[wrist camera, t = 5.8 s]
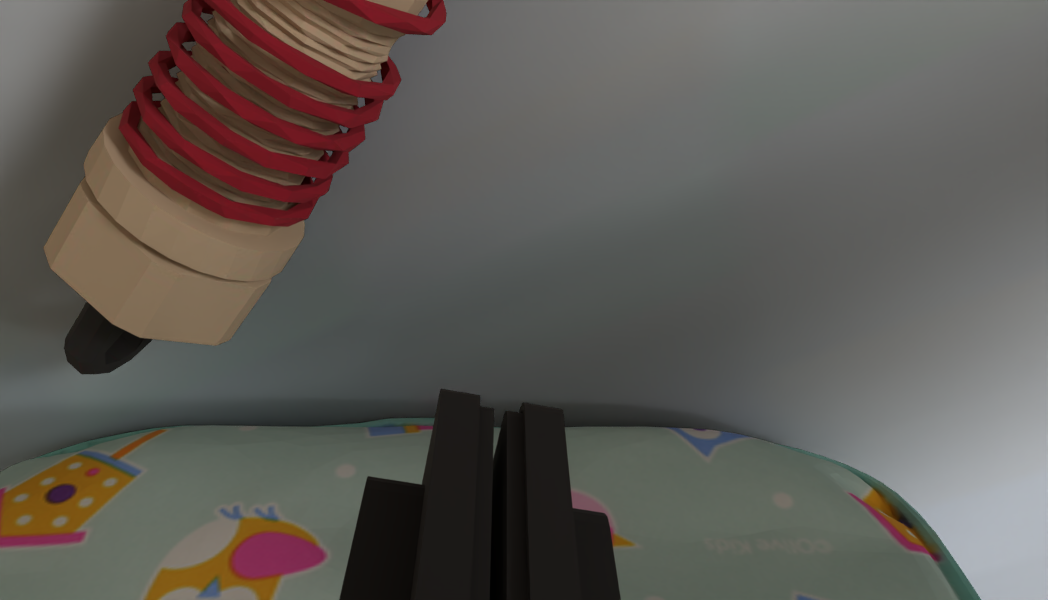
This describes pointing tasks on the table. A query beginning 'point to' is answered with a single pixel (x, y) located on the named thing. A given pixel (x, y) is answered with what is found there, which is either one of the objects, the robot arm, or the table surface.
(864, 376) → the table surface
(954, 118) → the table surface
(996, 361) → the table surface
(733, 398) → the table surface
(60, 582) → the lunch box
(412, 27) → the shock absorber
